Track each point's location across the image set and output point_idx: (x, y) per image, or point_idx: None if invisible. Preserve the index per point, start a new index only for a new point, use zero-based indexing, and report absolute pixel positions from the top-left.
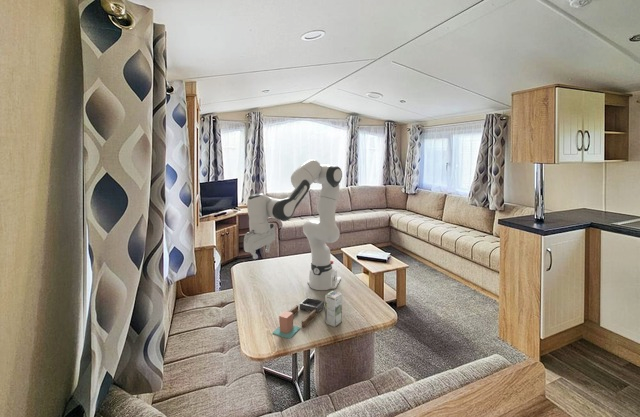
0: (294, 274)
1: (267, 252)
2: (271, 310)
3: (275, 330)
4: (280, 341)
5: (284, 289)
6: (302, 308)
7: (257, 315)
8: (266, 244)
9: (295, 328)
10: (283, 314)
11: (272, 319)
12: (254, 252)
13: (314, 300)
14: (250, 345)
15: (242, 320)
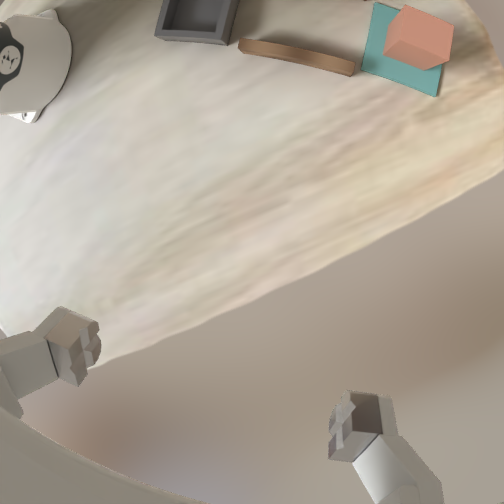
0: (7, 199)
1: (95, 325)
2: (269, 158)
3: (421, 88)
4: (465, 60)
5: (94, 181)
6: (229, 31)
7: (322, 201)
8: (51, 447)
9: (387, 18)
10: (431, 43)
11: (340, 126)
12: (430, 487)
13: (171, 1)
14: (499, 156)
15: (367, 244)
